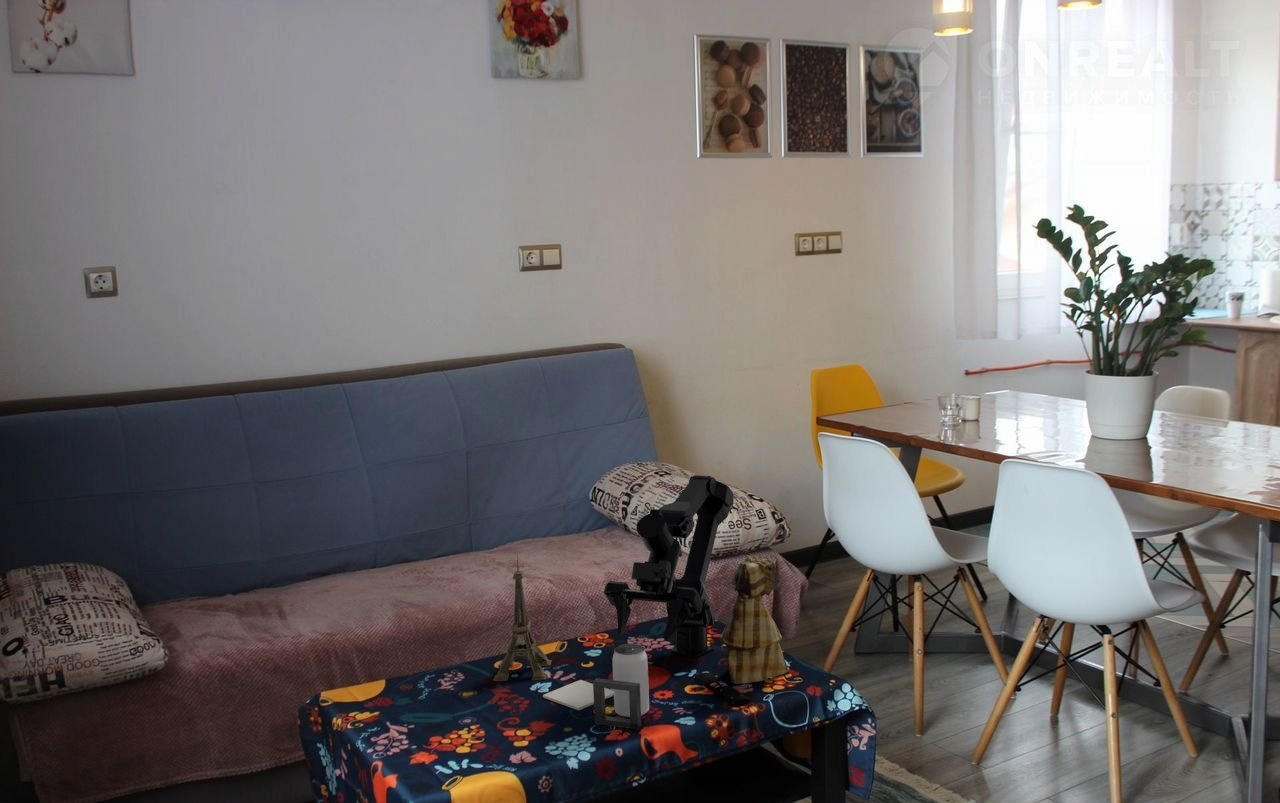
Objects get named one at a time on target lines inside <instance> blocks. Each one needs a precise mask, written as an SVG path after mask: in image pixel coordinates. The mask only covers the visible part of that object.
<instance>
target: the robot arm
mask: <svg viewBox="0 0 1280 803" xmlns="http://www.w3.org/2000/svg"><path fill="white" fill-rule="evenodd" d="M734 499H735V497H734V492H733V490H732V489H731V488H730V487H729V485H727V484H725V483H723V482H721V481H719V480H716V478H715V477H713V476H711V475H701V474H700V475H698V474H695V475H692V476H690V477H689V480H688V483H687V485H686V486H684V488H683V490H682V491H681V492H680V494H679V495H678V496H677V497H676V499H675V500H674V501H673V502H672V503H667V504H664V505H662V506H661V507H659V509H656V508H651V509H650V512H649V513H647V514H646V515H643V516H642V517H641V518H640V519H639V521H637V523H636V526H635V527H636V532H637V534H638V536H639V538H640V540H641V541H642V543H643V545H644V546H645V548H646V550H647V551H649V555H648V560H647V561H644V562H638V561H634V562H633V564H632V573H631V580H635V584H636V586H637V587H639V589H630V586H629V585H628V583H627V582H625V581H615V580H614V581H611V580H609V581H608V582H607V583H606V584H605V585H604V586H605V587H604V589H603V594H604V595H605V597H606V600H608V602H609V603H610V604H611V605H612V606H613V607H615V609H616V616H617V629H618V630H617V631H618V635H619V636H621V637H622V636H623V635H624V633H625V630H626V627H627V625H628V621H629V618H630V615H631V611H632V609H631V607H630V606H631V605H632V603H633V601H641V602H642V601H643V602H652V603H653V602H654V603H655V602H657V603H664V604H665V603H666V606H665V607H666V614H667V618H668V619H667V622H666V626H665V629H664V633H663V639H664V641H668V640H669V639H670V637H671V636H673V634H674V633H675V632H676V633H675V642H676V644H675V645H676V646H675V647H673V648H672V649H671V652H672V653H675V654H680V655H682V656H686V657H690V658H697V657H700V656H702V655H705V654H707V653H709V652H711V651H714V646H713V647H712V646H709V644H708V627H712V626H714V625H715V622H714V621H715V609H714V608H713V606H712V604H711V602H710V601H709V600H710V596H709V594H708V591H707V587H706V586H705V584H706V580H707V574H708V572H709V571H708V570H709V567H710V562H711V557H712V554H713V548H714V547H715V546H714V545H715V540H716V537H717V532H718V528H719V525H721V523H723V522H724V521H725V520H726V519H727V518H728V516H729V514H730V511H731V508H732V507H733V505H734ZM695 515H696V516H697V518H696V523H695V522H694V516H695ZM694 527H695V528H694ZM691 533H693V535H692V539H691V543H690V546H689V547H690V548H689V551H688V556H687V560H686V563H685V568H684V573H683V576H682V577H681V578H677V577H676V576H675V573H676V570H677V565H678V562H679V558H680V557H682V556H683V551H682V546H681V544H680V542H679V541H678V540H677V539H687V538H688V537H689V536H690V535H691Z"/></svg>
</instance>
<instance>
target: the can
mask: <svg viewBox="0 0 1280 803" xmlns="http://www.w3.org/2000/svg"><path fill="white" fill-rule="evenodd" d="M645 649H646V648H645V646H644V645H641V644H638V643H625V644H620V645H617V646H616V647H615V648H614V653H613V655H612V680H616V681H624V682H632V683H640V702H641V717H642V716H644V715H646V714H648V711H650V691H649V687H650V686H649V667H648V666H649V664H648V663H649V662H648V655H647V653H646V651H645ZM613 691H614V696H613V700H614V701H613V704H614V705H613V706H614V707H613V708H614V712H615V713H616V714H617V715H618V716H620V717H621V718H630V704H629V691H626V690H618V689H613Z"/></svg>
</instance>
